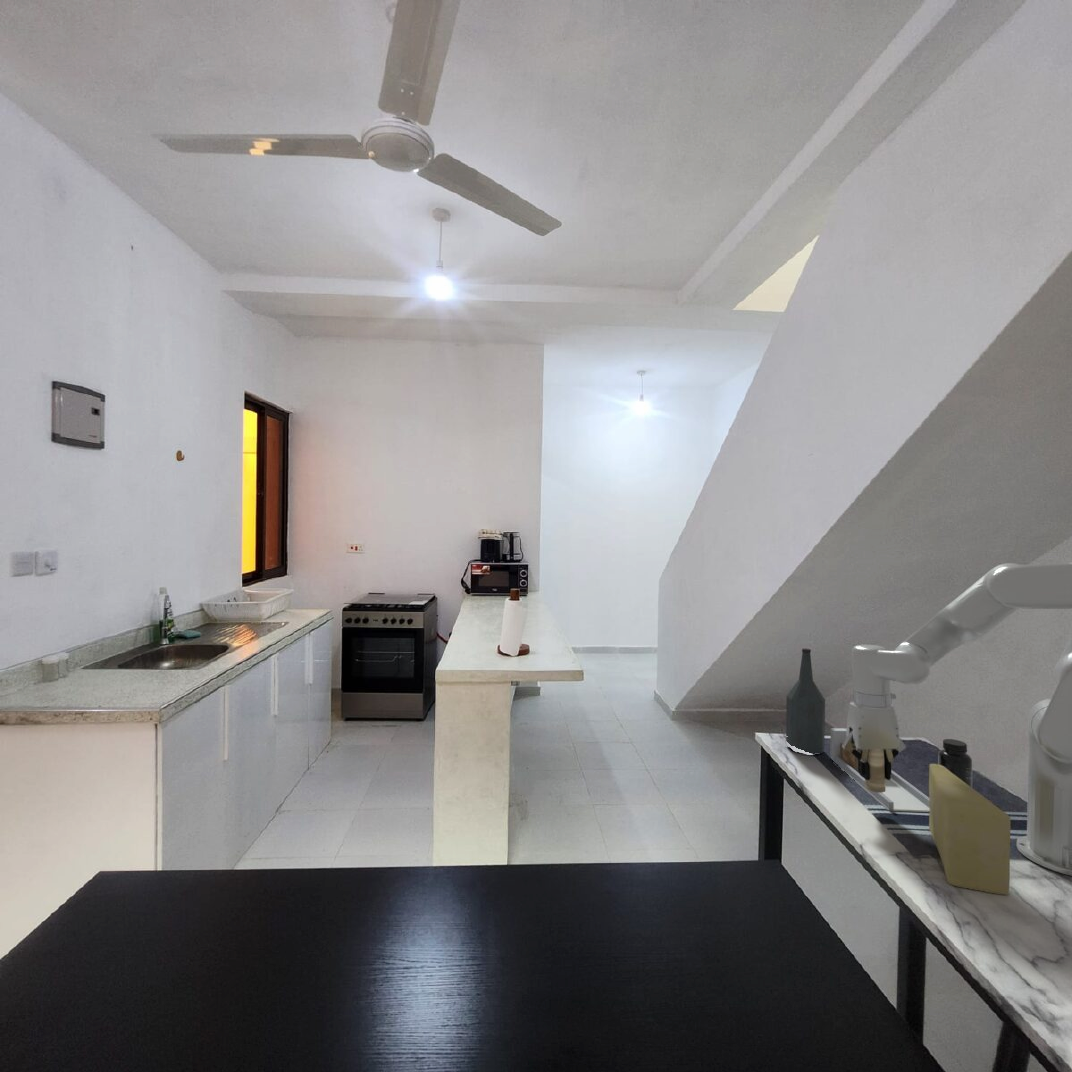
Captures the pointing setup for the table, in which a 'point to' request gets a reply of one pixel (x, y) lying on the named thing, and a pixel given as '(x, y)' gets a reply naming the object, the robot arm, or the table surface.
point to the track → (897, 789)
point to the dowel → (876, 771)
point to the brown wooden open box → (849, 757)
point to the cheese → (968, 834)
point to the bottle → (806, 711)
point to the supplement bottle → (956, 759)
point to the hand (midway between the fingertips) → (874, 776)
